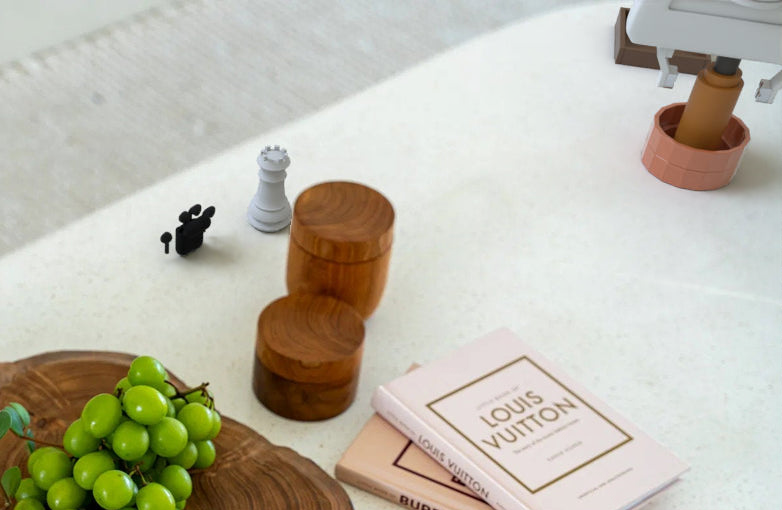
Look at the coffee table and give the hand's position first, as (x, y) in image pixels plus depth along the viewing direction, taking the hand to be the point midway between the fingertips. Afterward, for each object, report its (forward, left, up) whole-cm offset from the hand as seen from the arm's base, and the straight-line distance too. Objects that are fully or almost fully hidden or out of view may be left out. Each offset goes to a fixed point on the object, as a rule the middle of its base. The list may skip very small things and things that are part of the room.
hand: (713, 92), depth 115 cm
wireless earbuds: (+46, +28, -9) cm, 55 cm away
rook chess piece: (+40, +21, -9) cm, 46 cm away
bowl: (0, 0, -9) cm, 9 cm away
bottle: (0, 0, -9) cm, 9 cm away
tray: (+2, -24, -9) cm, 26 cm away
